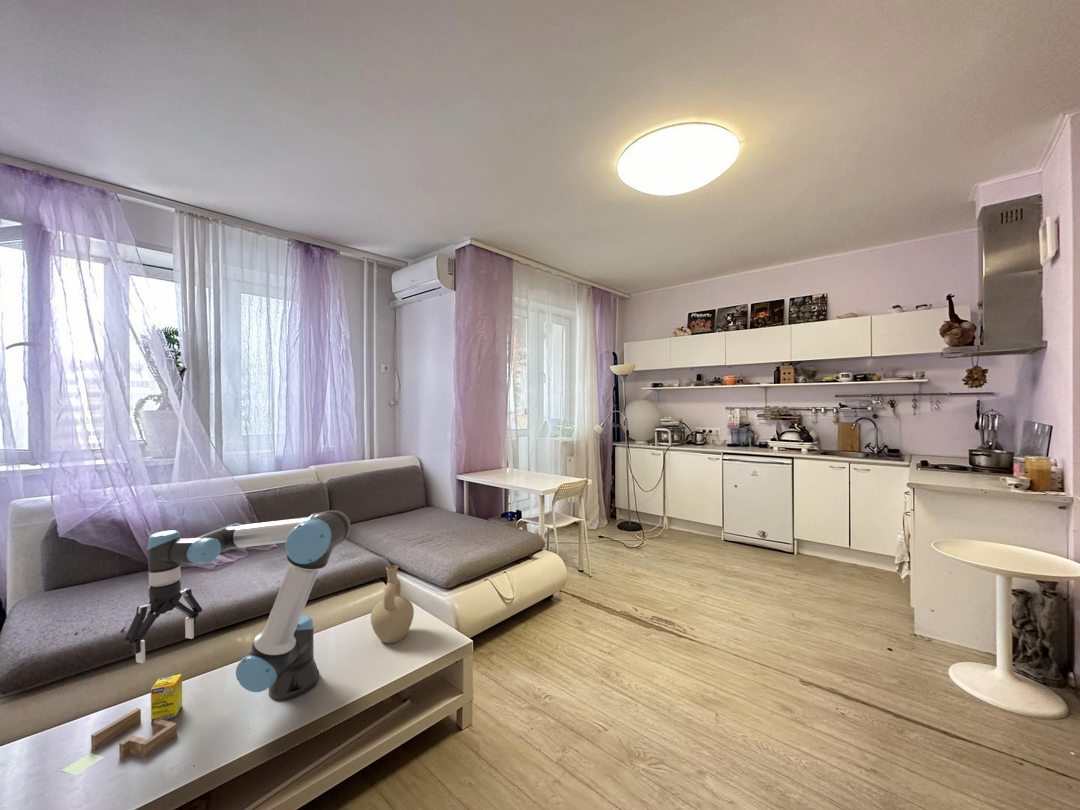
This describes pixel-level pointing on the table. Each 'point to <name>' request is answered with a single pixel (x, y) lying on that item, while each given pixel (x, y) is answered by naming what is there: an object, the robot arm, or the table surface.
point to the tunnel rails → (134, 744)
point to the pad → (82, 764)
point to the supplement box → (166, 697)
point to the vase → (392, 611)
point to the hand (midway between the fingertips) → (166, 649)
